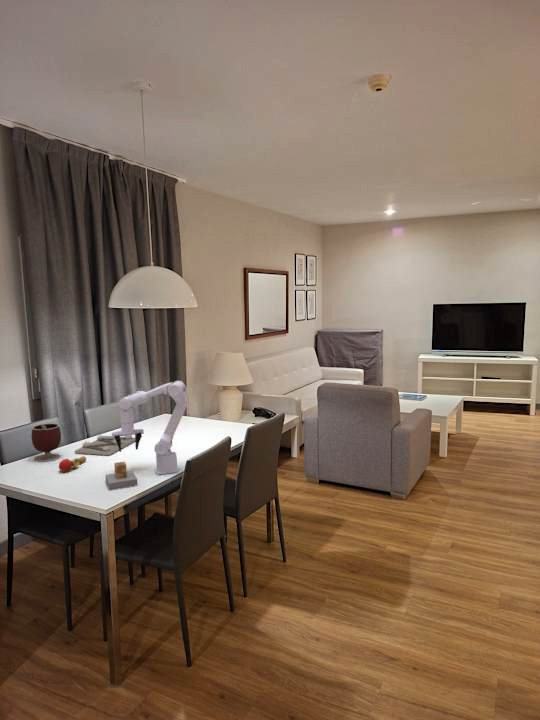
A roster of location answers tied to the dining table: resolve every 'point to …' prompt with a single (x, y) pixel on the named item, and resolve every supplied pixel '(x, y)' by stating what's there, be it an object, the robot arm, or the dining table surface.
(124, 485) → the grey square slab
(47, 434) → the mate gourd
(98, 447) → the grey piece
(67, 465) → the kendama
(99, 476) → the dining table surface
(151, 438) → the dining table surface
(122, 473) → the walnut block
